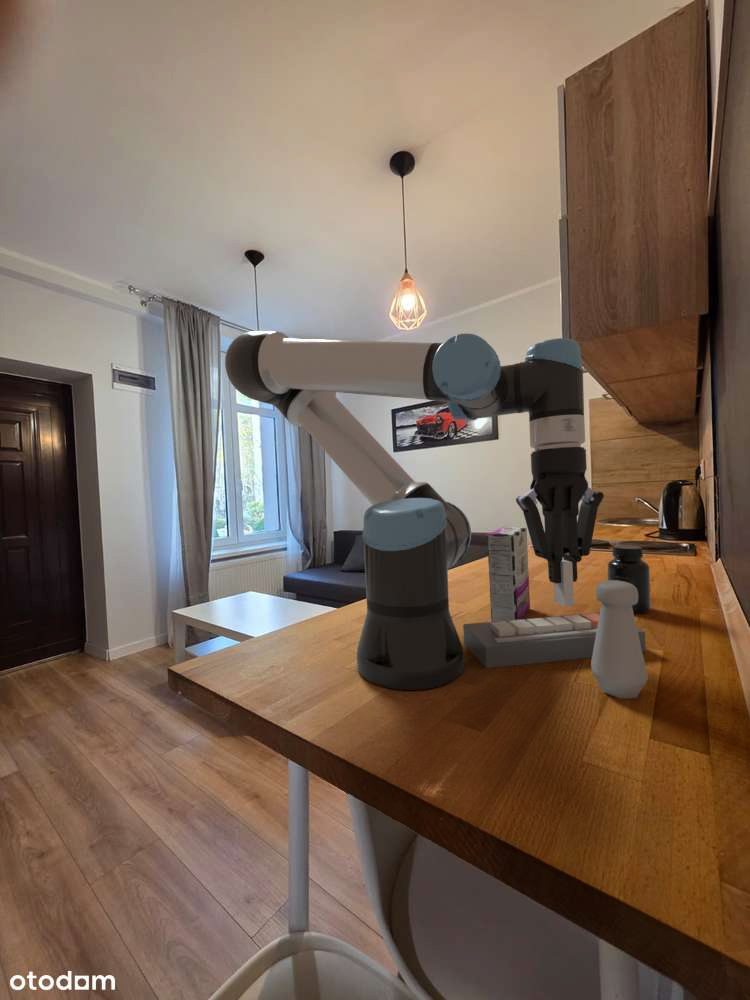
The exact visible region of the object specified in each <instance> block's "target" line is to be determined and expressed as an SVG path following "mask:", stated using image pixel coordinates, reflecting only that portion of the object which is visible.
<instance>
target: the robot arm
mask: <svg viewBox="0 0 750 1000" xmlns="http://www.w3.org/2000/svg"><path fill="white" fill-rule="evenodd" d="M224 367H225V372H226V374H227V378H228V380H229V382H230V384H231V385H232V386H233V387H234V389H236V391H238V392H239V393H240V394H241V395H243V396H244V397H247V398H249V400H250V399H251V400H254V401H258V402H260V403H265V404H268V405H271V406H274V407H275V408H276V409H277V410H278V411H279V412H280V414H282V416H284V418H285V419H286V420H287V421H288V422H289V424H290V425H292V426H293V427H299V428H300V427H303V428H304V429H305V430H306V431H307V432H308V433H309V435H310V436H311V437H312V438H313V439H314V440H315V441H316V443H317V444H318V445H319V446H320V447H321V449H323V451H324V452H325V453H326V454H327V456H329V457H330V459H331V460H332V461H333V462H334V463H335V464H336V465H337V466H338V468H339V469H340V470H341V471H342V472H343V473H344V474H345V476H347V478H348V479H349V480H350V481H351V483H352V484H353V485H354V486H355V487H356V489H358V490H359V492H360V493H361V494H362V495H363V496H364V497H365V499H366V500H367V501H368V502H369V503H370V504H371V506H370V507H367V509H366V510H365V512H364V515H363V528H362V533H361V534H362V535H361V536H362V541H363V552H364V553H363V554H364V557H363V558H364V573H365V594H366V615H365V620H364V623H363V626H362V629H361V635H360V637H359V641H358V645H357V650H356V664H357V665H356V667H357V668H356V669H357V671H358V673H359V674H360V676H362V677H363V678H364V679H365V680H367V681H368V682H369V683H370V682H371V683H372V684H375V685H377V686H380V687H383V688H388V689H392V690H402V691H415V690H416V691H417V690H418V691H420V690H428V689H433V688H437V687H441V686H444V685H446V684H449V683H451V682H452V681H455V679H457V678H458V677H460V675H462V672H463V670H464V668H465V664H464V663H465V660H464V650H463V649H464V648H463V646H462V643H461V640H460V637H459V635H458V631H457V628H456V626H455V623H454V621H453V617H452V615H451V611H450V603H449V576H448V575H449V574H448V570H449V569H450V568H452V567H453V566H455V565H457V564H458V562H460V561H461V560H463V558H464V556H466V553H467V551H468V549H469V547H470V544H471V540H472V529H471V524H470V521H469V520H468V517H467V516H466V514H465V513H464V512H463V511H462V509H460V508H459V507H458V506H456V505H455V504H453V503H451V502H448V501H446V500H445V499H444V498H443V497H442V496H441V495H440V494H439V493H438V491H436V490H435V489H434V488H433V487H432V485H430V484H429V483H428V482H425V481H424V482H423V481H418V482H417V481H415V480H414V479H413V478H412V477H411V476H410V475H409V473H408V472H407V471H406V470H405V469H404V468H403V467H402V466H401V464H399V463H398V462H397V460H395V459H394V458H393V456H392V455H391V454H390V453H389V452H388V451H387V450H386V448H384V447H383V446H382V444H380V443H379V442H378V441H377V439H376V438H375V437H374V436H373V435H372V434H371V433H370V432H369V431H368V430H367V429H366V427H364V425H363V424H362V423H361V422H360V421H359V420H358V419H357V418H356V417H355V416H354V415H353V414H352V413H351V411H349V409H348V408H346V406H345V405H344V404H343V403H342V402H341V401H340V399H338V398H337V393H342V394H343V393H344V394H353V395H367V396H376V397H377V396H379V397H390V398H392V397H393V398H403V399H412V400H414V399H415V400H425V401H426V400H427V401H435V402H443V403H447V407H448V411H449V412H450V415H451V417H452V419H454V420H457V421H466V420H471V421H476V420H477V419H478V420H479V419H483V418H484V419H485V418H490V417H497V416H498V417H500V416H506V415H512V414H522V413H528V416H529V417H528V421H529V423H528V424H529V443H530V444H529V446H530V448H532V449H534V451H532V452H531V453H530V469H531V475H532V481H531V483H530V486H529V487H530V488H529V489H530V490H529V491H527V492H526V493H525V494H523V495H519V496H517V497H516V499H515V501H516V503H517V505H518V507H519V508H520V509H521V511H522V512H523V516H524V519H525V524H526V527H527V529H528V534H529V537H530V540H531V541H530V542H531V544H532V549H533V553H534V556H536V557H539V558H540V559H541V558H542V559H544V560H546V561H547V565H548V566H547V572H548V579H549V581H550V582H551V583H553V596H554V597H553V598H554V602H555V603H557V604H559V605H561V606H563V607H572V606H573V607H574V606H575V595H574V582H578V581H577V580H578V578H579V577H578V563H580V562H581V561H582V559H583V558H582V557H584V556H585V557H587V556H589V555H590V553H591V547H592V542H593V536H594V531H595V526H596V521H597V514H598V509H599V506H600V505H601V503H602V502H603V499H604V496H605V494H604V493H603V492H602V491H595V490H593V488H591V487H589V483H588V480H587V479H586V476H585V474H586V471H587V449H585V447H584V446H581V445H583V444H585V442H586V429H585V428H586V425H585V402H584V401H585V400H584V399H585V398H584V396H585V395H584V394H585V393H584V368H583V361H582V351H581V346H580V344H579V343H578V342H577V341H576V340H575V339H572V338H565V337H564V338H563V337H559V338H553V339H548V340H547V339H545V340H544V341H542V342H537V343H535V344H533V345H531V346H530V347H529V348H528V349H527V351H526V356H525V361H520V362H517V363H513V364H508V365H501V361H500V359H499V356H498V354H497V352H496V350H495V349H494V348H493V347H492V346H491V344H489V343H488V341H486V340H485V339H484V338H483V337H481V336H479V335H478V334H474V333H459V334H457V335H453V336H452V337H450V338H448V339H446V340H444V342H413V341H412V342H411V341H410V342H408V341H406V342H405V341H381V340H380V341H379V340H375V341H374V340H340V339H339V340H338V339H333V340H332V339H310V338H308V339H303V338H301V339H300V338H290V337H289V336H288V335H287V334H286V333H284V332H282V331H265V330H264V331H263V330H261V331H259V330H258V331H257V330H256V331H255V330H254V331H248V332H245V333H242V334H240V335H238V336H237V337H236V338H234V340H233V341H232V342H231V343H230V345H229V346H228V347H227V350H226V354H225V357H224ZM580 501H581V504H580ZM538 503H539V504H540V505H541V510H542V511H541V512H542V515H543V518H544V519H543V520H544V523H543V522H542V518H541V513H540V511H539V508H538V507H537V505H538ZM579 504H580V506H579ZM543 525H544V526H543Z"/></svg>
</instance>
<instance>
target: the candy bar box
mask: <svg viewBox="0 0 750 1000" xmlns="http://www.w3.org/2000/svg"><path fill="white" fill-rule="evenodd" d="M527 529H528V527H527V526H526V527H525V526H503V527H500V528H499V529H498V528H497V529H496V530H494V531H491V532H490V533H487V534H486V536H487V537H486V538H487V539H486V541H487V557H488V558H487V559H488V573H489V575H488V577H489V579H488V580H489V594H490V597H489V598H490V599H489V600H490V617H491V618H490V620H491V621H490V622H495V621H506V620H518V619H524V617H525V615H526V614H527V613H528V611H529V610H530V609H531V601H530V600H531V599H530V579H529V555H528V535H527Z"/></svg>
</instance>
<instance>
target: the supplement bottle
mask: <svg viewBox="0 0 750 1000" xmlns="http://www.w3.org/2000/svg"><path fill="white" fill-rule="evenodd" d="M612 556H613V557H614V558H613V559H611V560H609V562H608V563H607V581H608V580H617V581H623V582H627V583H630V584H633V585H634V586H635V587H636V588H637V591H638V602H637V604H635V605H632V609H633V613H634V614H645V613H646V614H647V613H649V611H651V604H652V603H651V602H652V601H651V573H650V572H651V571H650V570H651V569H650V566H649V564H648V563H647V562H646V561H644V560H642V559H643V558H644V553H643V547H641V546H638V545H626V544H625V545H624V544H623V545H615V546H612Z"/></svg>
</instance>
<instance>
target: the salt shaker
mask: <svg viewBox="0 0 750 1000" xmlns="http://www.w3.org/2000/svg"><path fill="white" fill-rule="evenodd" d="M595 596H596V599H597V601H598V602H600V603H601V604H600V605H601V606H600V609H599V610H600V611H599V612H600V615H599V621H598V626H597V632H596V638H595V644H594V649H593V655H592V658H591V662H590V665H591V667H590V668H591V672H592V675H593V676H594V678H595V679H596V681H597V683H598V685H599V687H600V689H601V690H602V692H603V693H604V694H607V695H610V696H612V697H615V698H618V699H621V700H624V699H637V698H638V697H639V695H640V693H641V691H642V690H643V688H644V687H645V685H646V683H647V682H648V678H649V675H648V671H647V667H646V663H645V662H646V661H645V659H644V654H643V652H642V649H641V645H640V640H639V636H638V631H637V628H638V626H637V622H636V617H635V615H634V613H633V609H632V605H635V604H637V602H638V591H637V588H636V587H635V586H634V585H633V584H630V583H627V582H623V581H617V580H608V579H607V580H602V581H600V582H598V583H597V584H596V587H595Z"/></svg>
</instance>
